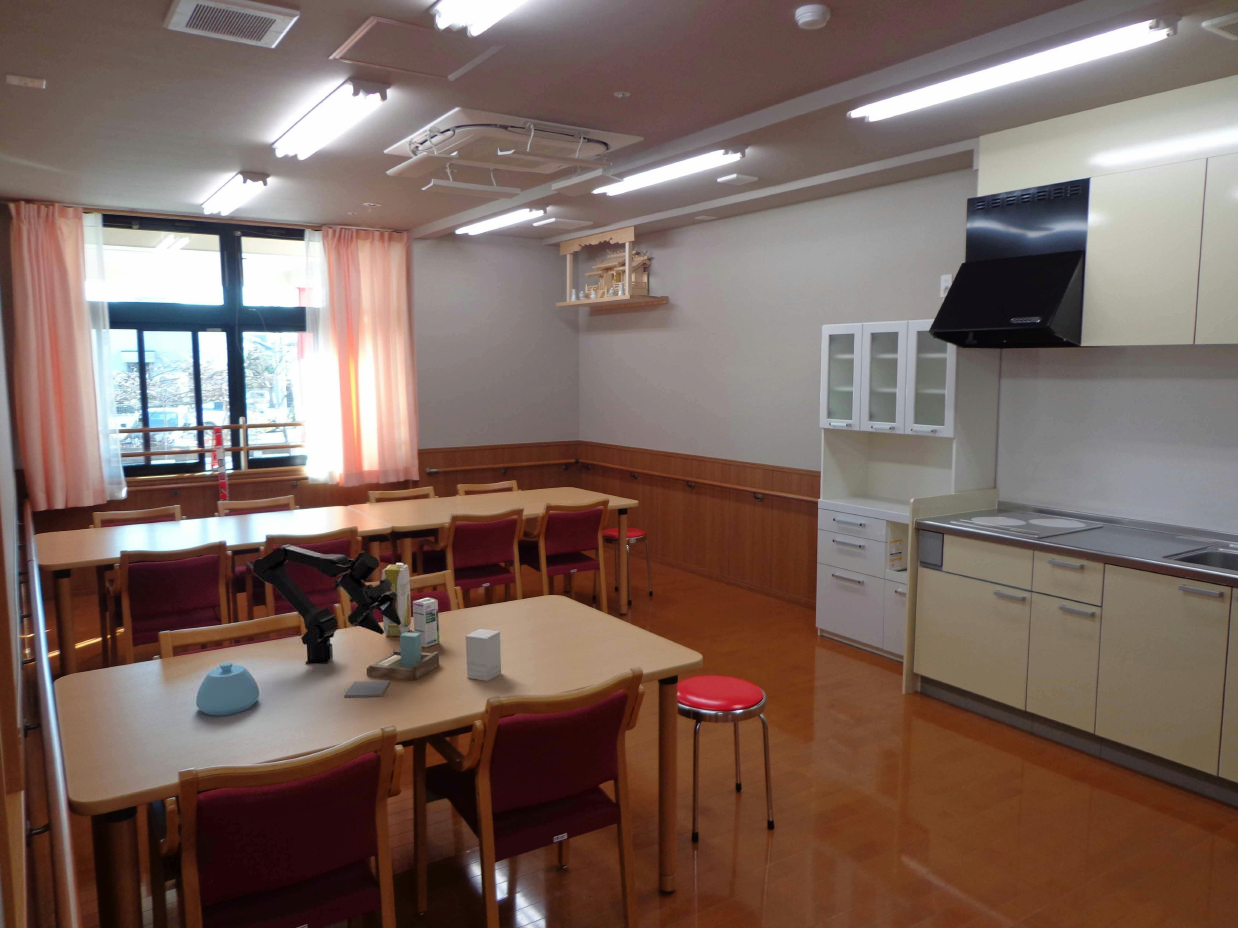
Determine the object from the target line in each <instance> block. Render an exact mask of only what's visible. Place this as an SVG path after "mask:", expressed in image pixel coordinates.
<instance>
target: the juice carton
mask: <svg viewBox="0 0 1238 928" xmlns="http://www.w3.org/2000/svg"><path fill="white" fill-rule="evenodd" d="M381 572H382V573H381V580H383V579H385V578H387V579H388V580H389V581H390V582H391V583H392V587H391V590H392V591H391V592H395V593H396V595H397V596H398V597H397V601H396V603H395V607H396V611H397V613H398V616H399V618H400V621H401V624H400V625H397V624H395V623H394V622H392V621H391V620H390V619H388V618H387V617H385V616H384V615H382V621H383V623H382V624H383V630H384V635H385V637H400V635H401V634H403V633H405V632H408V631H410V630H411V624H412V615H411V614H412V613H411V612H412V610H411V583H410V582H411V579H410V578H411V577H410V570H409V565H408V564H404V563H403V562H396V563H395V564H389V565H387V566H386V568H384V569H382V571H381ZM388 592H390V591H388ZM388 592H387V593H388ZM385 594H386V593H385ZM383 595H384V594H383ZM383 595H382V596H383Z"/></svg>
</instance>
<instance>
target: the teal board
mask: <svg viewBox="0 0 1238 928" xmlns="http://www.w3.org/2000/svg"><path fill="white" fill-rule="evenodd" d="M399 642H400V643H399V648H400V653H401V668H410V669H413V666H414V665H415V664H417V663H418V662H420V661H421V653H422V650H421V649H422V646H421V638H420V633H414V632H405V633H403V634H401V635H400V636H399Z"/></svg>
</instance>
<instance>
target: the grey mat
mask: <svg viewBox="0 0 1238 928" xmlns="http://www.w3.org/2000/svg"><path fill="white" fill-rule="evenodd" d="M390 684H391V680H367V681H366V680H365V681H363V680H362V681H359V680H358V681H353V683H352V684H351V685H350V687H349V688H348V689H347V691H346V692H345V693H344V695H343V698H367V697H368V698H369V697H374V698H375V697H378V698H379V697H380V698H381V697H383V695H384V694H385V692H386V691H387V689H388V687H389V686H388V685H390ZM386 688H387V689H386Z"/></svg>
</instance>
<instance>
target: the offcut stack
mask: <svg viewBox="0 0 1238 928" xmlns="http://www.w3.org/2000/svg"><path fill="white" fill-rule="evenodd" d="M377 665H382V666H391V667H401V656H398V655H394V656H392V657H390V658H388V659H386V660H384V661H382V662H380V663H378V664H377Z"/></svg>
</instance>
